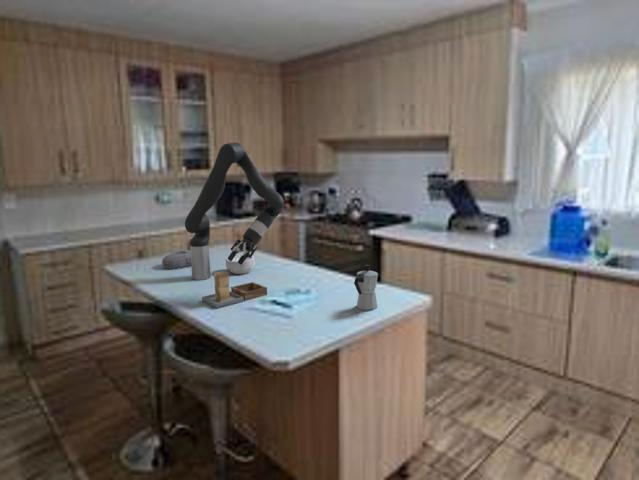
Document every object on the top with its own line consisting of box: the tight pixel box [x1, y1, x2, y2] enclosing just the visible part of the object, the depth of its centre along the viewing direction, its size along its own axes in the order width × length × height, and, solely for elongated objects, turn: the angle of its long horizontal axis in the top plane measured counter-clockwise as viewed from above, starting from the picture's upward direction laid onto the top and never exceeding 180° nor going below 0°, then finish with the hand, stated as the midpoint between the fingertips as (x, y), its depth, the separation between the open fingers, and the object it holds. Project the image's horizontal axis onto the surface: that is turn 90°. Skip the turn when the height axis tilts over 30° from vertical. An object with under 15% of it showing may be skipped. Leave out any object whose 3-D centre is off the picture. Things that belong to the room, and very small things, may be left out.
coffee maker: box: [353, 264, 379, 311], centre depth 185 cm, size 15×9×18 cm, turn 141°
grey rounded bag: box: [161, 250, 191, 270], centre depth 257 cm, size 15×8×20 cm
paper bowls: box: [225, 254, 256, 275], centre depth 243 cm, size 15×15×8 cm
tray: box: [201, 290, 245, 310], centre depth 196 cm, size 13×13×2 cm
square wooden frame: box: [230, 281, 268, 302], centre depth 205 cm, size 12×12×4 cm
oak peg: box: [213, 270, 230, 302], centre depth 195 cm, size 4×4×12 cm
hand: (234, 261), depth 197 cm, fingers open, 8 cm apart
